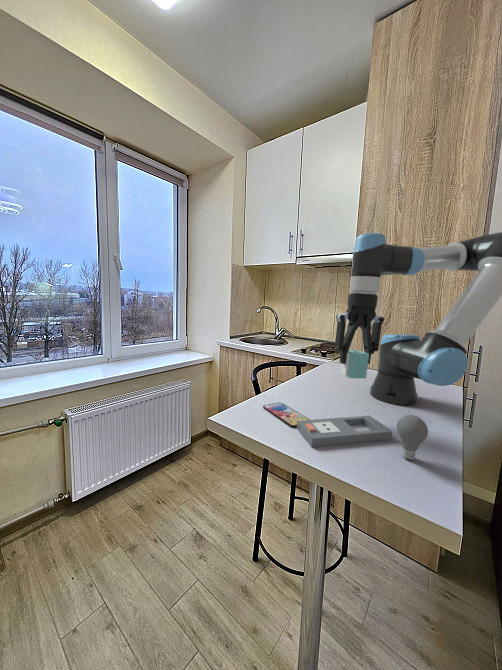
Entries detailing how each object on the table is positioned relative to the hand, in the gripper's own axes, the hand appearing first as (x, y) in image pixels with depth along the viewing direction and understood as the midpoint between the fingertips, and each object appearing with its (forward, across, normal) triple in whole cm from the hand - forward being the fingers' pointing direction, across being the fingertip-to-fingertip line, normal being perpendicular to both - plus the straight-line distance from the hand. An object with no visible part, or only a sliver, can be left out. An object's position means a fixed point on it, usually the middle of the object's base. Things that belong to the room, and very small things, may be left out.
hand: (353, 374), depth 78 cm
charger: (0, 0, 0) cm, 0 cm away
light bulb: (+13, -3, +20) cm, 25 cm away
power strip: (+13, +6, +9) cm, 17 cm away
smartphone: (+14, +18, -4) cm, 23 cm away
